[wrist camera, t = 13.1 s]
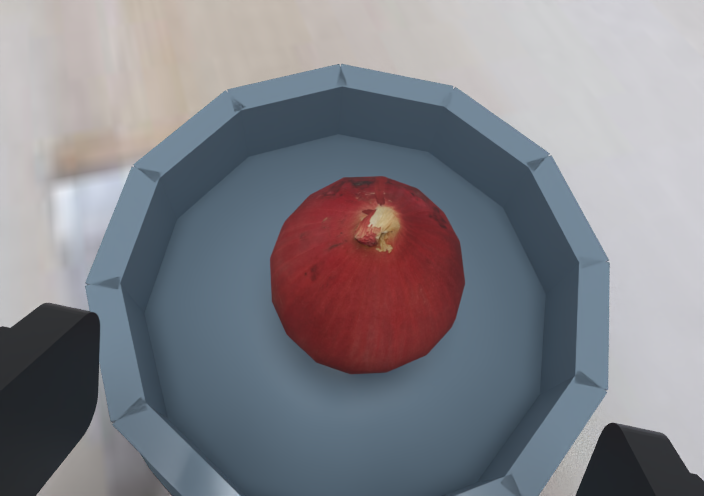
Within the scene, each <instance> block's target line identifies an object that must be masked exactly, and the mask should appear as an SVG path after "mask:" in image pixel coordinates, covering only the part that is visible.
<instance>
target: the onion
mask: <svg viewBox="0 0 704 496" xmlns="http://www.w3.org/2000/svg"><path fill="white" fill-rule="evenodd" d="M270 272H271V295H272V303H273V305H274V307H275V310H276V312H277V314H278V316H279V319H280V321H281V323H282V325H283V328H284V330H285V332H286V334H287V335H288V336H289V337H290V338H291V339H292V340H293V341H294V342H295V343H296V344H297V345H298V346H299V347H300V348H301V349H302V350H304V351H305V352H306V353H307V354H308V355H309V356H310V357H311V358H312V359H313V360H314V361H315V362H316V363H319V364H322V365H325V366H328V367H330V368H333V369H336V370H339V371H342V372H345V373H348V374H369V373H387V372H389V371H391V370H394V369H396V368H398V367H400V366H403V365H405V364H407V363H410V362H412V361H414V360H417V359H419V358H421V357H424V356H426V355H427V354H428V353H429V352H430V351H431V350H432V349H433V348H434V347H435V345H436V344H437V343H438V342H439V341H440V340H441V339H442V338H443V337H444V336H445V334H446V333H447V332H448V331H449V330H450V329H451V328H452V326H453V323H454V321H455V319H456V316H457V312H458V308H459V305H460V301H461V297H462V294H463V290H464V286H465V277H464V268H463V260H462V252H461V245H460V241H459V239H458V237H457V235H456V233H455V231H454V230H453V228H452V226H451V224H450V222H449V220H448V218H447V217H446V215H445V213H444V212H443V211H442V210H441V209H440V208H439V207H438V206H437V205H435V204H434V203H433V202H432V201H431V200H430V199H429V198H428V197H427V196H426V195H425V194H423V193H422V192H421V191H420V190H419V189H417V188H415V187H412V186H409V185H407V184H404V183H401V182H398V181H395V180H393V179H390V178H387V177H384V176H371V177H343V178H342V179H340V180H338V181H336V182H334V183H332V184H330V185H328V186H326V187H324V188H322V189H320V190H318V191H316V192H314V193H312V194H310V195H309V196H308V197H307V198H306V199H305V200H304V201H303V203H302V204H301V205H300V206H299V207H298V208H297V209H296V210H295V211H294V212H293V213H292V214H291V215H290V216H289V217H288V218H287V219H286V220H285V222H284V224H283V226H282V228H281V230H280V233H279V236H278V238H277V241H276V244H275V246H274V249H273V252H272V254H271V257H270Z"/></svg>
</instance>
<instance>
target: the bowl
mask: <svg viewBox="0 0 704 496" xmlns="http://www.w3.org/2000/svg"><path fill="white" fill-rule="evenodd" d="M227 90H228V92H227V91H224V92H223V93H222V94H220V95H219V96H218V97H217V98H215V99H214V100H213V101H212V102H210V103H209V104H208V105H207V106H205V107H204V108H203V109H202V110H201V111H199V112H198V113H197V114H196V115H194V116H193V117H192V118H191V119H189V120H188V121H187V122H186V123H184V124H183V125H182V126H181V127H179V128H178V129H177V130H176V131H174V132H173V133H172V134H171V135H170V136H168V137H167V138H166V139H165V140H163V141H162V142H161V143H160V144H158V145H157V146H156V147H155V148H153V149H152V150H151V151H150V152H148V153H147V154H146V155H145V156H143V157H142V158H141V159H140V160H138V161H137V162H136V163H135V164H134V167H132V168H131V170H130V173H129V175H128V178H127V180H126V183H125V185H124V188H123V190H122V193H121V195H120V198H119V200H118V203H117V205H116V208H115V210H114V213H113V215H112V218H111V220H110V223H109V225H108V228H107V230H106V233H105V235H104V238H103V240H102V243H101V245H100V248H99V250H98V253H97V255H96V258H95V260H94V263H93V265H92V268H91V270H90V273H89V275H88V278H87V280H86V284H87V285H86V286H85V288H86V294H87V299H88V304H89V310H90V312H94V313H96V314H97V315H98V317H99V320H100V352H99V362H100V368H101V373H102V378H103V383H104V389H105V394H106V399H107V405H108V410H109V415H110V420H111V422H112V423H113V424H112V425H113V426H114V427H115V428H116V429H117V430H118V431H119V432H120V433H121V434H122V435H123V436H124V437H125V438H126V439H127V440H128V441H129V442H130V443H131V444H132V445H133V446H134V447H135V448H136V449H137V450H138V451H139V452H140V454H141V455H142V457H143V459H144V460H145V462H146V463H147V465H148V467H149V468H150V470H151V471H152V472H153V473H154V475H155V476H156V477H157V478H158V479H159V480H160V482H161V483H162V484H163V485H164V486H165V488H166V489H167V490H168V491H169V492H170V493H171V495H172V496H539V494H540V493H541V491H542V490H543V488H544V487H545V485H546V484H547V482H548V481H549V479H550V478H551V476H552V475H553V473H554V472H555V470H556V469H557V467H558V466H559V464H560V463H561V461H562V460H563V458H564V457H565V455H566V454H567V452H568V451H569V449H570V448H571V446H572V445H573V443H574V442H575V440H576V438H577V437H578V435H579V434H580V432H581V431H582V429H583V428H584V426H585V425H586V423H587V422H588V420H589V419H590V417H591V416H592V414H593V413H594V411H595V410H596V408H597V407H598V405H599V404H600V402H601V401H602V399H603V398H604V396H605V395H606V393H607V392H606V390H608V351H609V268H610V263H609V262H607V261H609V259H608V258H607V256H606V254H605V252H604V250H603V248H602V247H601V245H600V243H599V241H598V239H597V238H596V236H595V234H594V232H593V230H592V228H591V227H590V225H589V223H588V221H587V219H586V217H585V216H584V214H583V212H582V210H581V208H580V207H579V205H578V203H577V201H576V199H575V197H574V196H573V194H572V192H571V190H570V188H569V187H568V185H567V183H566V181H565V179H564V177H563V176H562V174H561V172H560V170H559V168H558V167H557V165H556V163H555V161H554V159H553V157H552V156H549V154H550V153H548V152H547V151H545V150H544V149H543V148H541V147H540V146H538V145H537V144H535V143H534V142H533V141H531V140H530V139H528V138H527V137H526V136H524V135H523V134H521V133H520V132H518V131H517V130H516V129H514V128H513V127H511V126H510V125H509V124H507V123H506V122H504V121H503V120H501V119H500V118H499V117H497V116H496V115H494V114H493V113H492V112H490V111H489V110H487V109H486V108H485V107H483V106H482V105H480V104H479V103H477V102H476V101H475V100H473V99H472V98H470V97H469V96H468V95H466V94H465V93H463V92H462V91H460V90H459V89H458V88H456V87H455V88H454V89H453V86H451V85H445V84H440V83H435V82H430V81H425V80H420V79H415V78H410V77H405V76H400V75H395V74H390V73H385V72H380V71H375V70H370V69H365V68H360V67H354V66H349V65H344V64H341V67H340V65H339V64H337V65H332V66H328V67H324V68H319V69H315V70H311V71H306V72H302V73H297V74H293V75H289V76H284V77H280V78H276V79H271V80H267V81H262V82H258V83H254V84H249V85H245V86H241V87H236V88H232V89H227ZM371 176H384V177H387V178H390V179H393V180H395V181H398V182H401V183H404V184H407V185H409V186H412V187H415V188H417V189H419V190H420V191H421V192H422V193H423V194H425V195H426V196H427V197H428V198H429V199H430V200H431V201H432V202H433V203H434V204H435V205H437V206H438V207H439V208H440V209H441V210H442V211H443V212H444V213H445V215H446V217H447V218H448V220H449V222H450V224H451V226H452V228H453V230H454V231H455V233H456V235H457V237H458V239H459V241H460V245H461V252H462V260H463V268H464V277H465V286H464V290H463V294H462V297H461V301H460V305H459V308H458V312H457V316H456V319H455V321H454V323H453V326H452V328H451V329H450V330H449V331H448V332H447V333H446V334H445V336H444V337H443V338H442V339H441V340H440V341H439V342H438V343H437V344H436V345H435V347H434V348H433V349H432V350H431V351H430V352H429V353H428V354H427V355H426V356H424V357H421V358H419V359H417V360H414V361H412V362H410V363H407V364H405V365H403V366H400V367H398V368H396V369H394V370H391V371H389V372H387V373H369V374H348V373H345V372H342V371H339V370H336V369H333V368H330V367H328V366H325V365H322V364H319V363H316V362H315V361H314V360H313V359H312V358H311V357H310V356H309V355H308V354H307V353H306V352H305V351H304V350H302V349H301V348H300V347H299V346H298V345H297V344H296V343H295V342H294V341H293V340H292V339H291V338H290V337H289V336H288V335H287V334H286V332H285V330H284V328H283V325H282V323H281V321H280V319H279V316H278V314H277V312H276V310H275V307H274V305H273V303H272V295H271V272H270V257H271V254H272V252H273V249H274V246H275V244H276V241H277V238H278V236H279V233H280V230H281V228H282V226H283V224H284V222H285V220H286V219H287V218H288V217H289V216H290V215H291V214H292V213H293V212H294V211H295V210H296V209H297V208H298V207H299V206H300V205H301V204H302V203H303V201H304V200H305V199H306V198H307V197H308V196H309V195H310V194H312V193H314V192H316V191H318V190H320V189H322V188H324V187H326V186H328V185H330V184H332V183H334V182H336V181H338V180H340V179H342V178H343V177H371Z"/></svg>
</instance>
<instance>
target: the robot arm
mask: <svg viewBox="0 0 704 496" xmlns="http://www.w3.org/2000/svg"><path fill="white" fill-rule="evenodd" d="M99 352H100V320H99V317H98V315H97V314H96V313H94V312H90V311H86V310H81V309H76V308H71V307H66V306H62V305H57V304H52V303H44V304H42V305H40V306H39V307H38V308H36V309H35V310H34V311H32V312H31V313H30V314H28V315H27V316H26V317H24V318H23V319H22V320H20V321H19V322H18V323H17V324H15V325H14V326H13V327H11V328H8V327H3V326H2V327H0V496H36V495H37V493H38V492H39V491H40V490H41V488H42V487H43V486H44V485H45V483H46V482H47V481H48V480H49V478H50V477H51V476H52V475H53V473H54V472H55V471H56V470H57V468H58V467H59V466H60V464H61V463H62V462H63V461H64V459H65V458H66V457H67V456H68V454H69V453H70V452H71V451H72V449H73V448H74V447H75V446H76V444H77V443H78V442H79V441H80V439H81V438H82V437H83V435H84V434H85V432H86V431H87V429H88V427H89V425H90V423H91V420H92V418H93V415H94V412H95V408H96V404H97V398H98V378H99ZM576 496H704V481H703V480H702V479H701V478H700V477H699V476H698V475H697V474H692V473H690V472H689V471H688V469H687V468H686V466H685V464H684V463H683V461H682V460H681V458H680V456H679V455H678V453H677V452H676V450H675V448H674V447H673V445H672V444H671V442H670V440H669V439H668V438H667V436H665V435H664V434H663V433H660V432H655V431H650V430H646V429H641V428H636V427H631V426H627V425H622V424H617V423H609V424H608V425H606V427H605V428H604V429H603V431H602V432H601V435H600V437H599V439H598V442H597V444H596V447H595V449H594V452H593V454H592V456H591V459H590V461H589V464H588V466H587V469H586V471H585V474H584V476H583V479H582V481H581V484H580V486H579V489H578V491H577V493H576Z"/></svg>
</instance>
